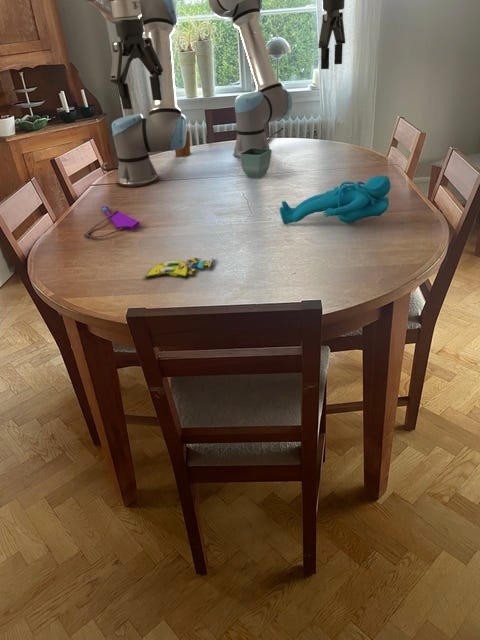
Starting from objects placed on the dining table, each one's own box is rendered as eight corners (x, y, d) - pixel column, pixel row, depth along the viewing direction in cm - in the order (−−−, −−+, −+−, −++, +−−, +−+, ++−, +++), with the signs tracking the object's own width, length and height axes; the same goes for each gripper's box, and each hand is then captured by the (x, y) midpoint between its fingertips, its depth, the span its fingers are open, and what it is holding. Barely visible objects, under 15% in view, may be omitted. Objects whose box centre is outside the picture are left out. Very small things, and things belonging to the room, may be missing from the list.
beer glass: (168, 157, 212) (164, 128, 205) (178, 151, 219) (174, 123, 212) (187, 157, 208) (183, 128, 202) (197, 151, 216) (193, 123, 209)
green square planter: (261, 180, 173) (260, 155, 168) (240, 178, 177) (238, 153, 172) (272, 173, 179) (271, 148, 174) (252, 171, 183) (250, 147, 178)
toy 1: (206, 274, 112) (144, 275, 114) (207, 278, 112) (145, 278, 115) (214, 255, 120) (156, 256, 123) (214, 258, 121) (157, 259, 123)
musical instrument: (112, 245, 135) (156, 212, 147) (109, 239, 134) (154, 206, 146) (58, 238, 148) (103, 208, 160) (55, 232, 147) (101, 202, 159)
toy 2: (283, 190, 142) (387, 164, 132) (292, 223, 147) (393, 200, 137) (274, 211, 129) (390, 183, 118) (285, 246, 134) (396, 223, 124)
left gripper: (106, 21, 118) (124, 113, 130) (167, 15, 136) (178, 97, 147) (84, 23, 122) (103, 112, 133) (146, 17, 139) (159, 96, 151)
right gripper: (330, -4, 153) (329, 70, 164) (355, -6, 171) (352, 61, 182) (308, -2, 156) (308, 71, 168) (335, -4, 174) (333, 62, 186)
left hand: (143, 104), depth 140 cm, fingers open, 13 cm apart
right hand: (331, 66), depth 175 cm, fingers open, 13 cm apart
